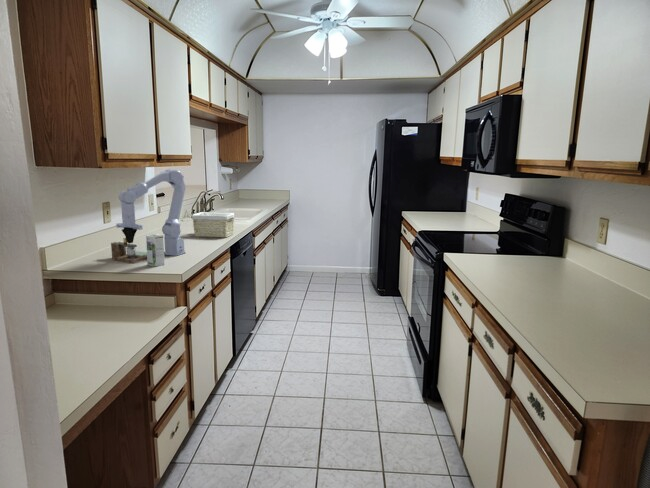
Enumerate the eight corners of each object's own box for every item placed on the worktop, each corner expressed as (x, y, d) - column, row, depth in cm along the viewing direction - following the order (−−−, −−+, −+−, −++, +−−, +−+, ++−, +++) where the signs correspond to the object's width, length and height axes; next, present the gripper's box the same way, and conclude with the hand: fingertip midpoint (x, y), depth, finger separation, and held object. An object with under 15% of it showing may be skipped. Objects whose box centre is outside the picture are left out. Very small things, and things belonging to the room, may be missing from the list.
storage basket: (191, 237, 270) (190, 214, 267) (201, 232, 286) (201, 211, 283) (227, 238, 267) (226, 215, 264) (235, 234, 283) (235, 212, 280)
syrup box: (147, 265, 198) (145, 235, 195) (157, 262, 203) (156, 233, 200) (154, 266, 195) (152, 236, 192) (165, 264, 200) (163, 234, 197)
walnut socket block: (148, 258, 211) (147, 244, 209) (133, 262, 201) (132, 247, 200) (124, 255, 216) (123, 241, 215) (108, 259, 207) (106, 244, 205)
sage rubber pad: (151, 253, 221) (151, 253, 221) (140, 256, 214) (139, 256, 214) (138, 252, 224) (138, 251, 224) (126, 255, 217) (126, 254, 217)
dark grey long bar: (136, 246, 207) (136, 238, 206) (132, 247, 205) (132, 239, 204) (115, 244, 212) (114, 236, 211) (111, 245, 209) (110, 237, 209)
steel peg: (137, 259, 209) (137, 247, 208) (131, 260, 206) (130, 248, 204) (131, 258, 211) (130, 246, 209) (125, 259, 207) (124, 248, 206)
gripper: (110, 215, 202) (112, 242, 205) (133, 217, 198) (135, 245, 200) (122, 213, 209) (123, 240, 212) (144, 215, 204) (146, 243, 207)
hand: (130, 242), depth 206 cm, fingers closed
